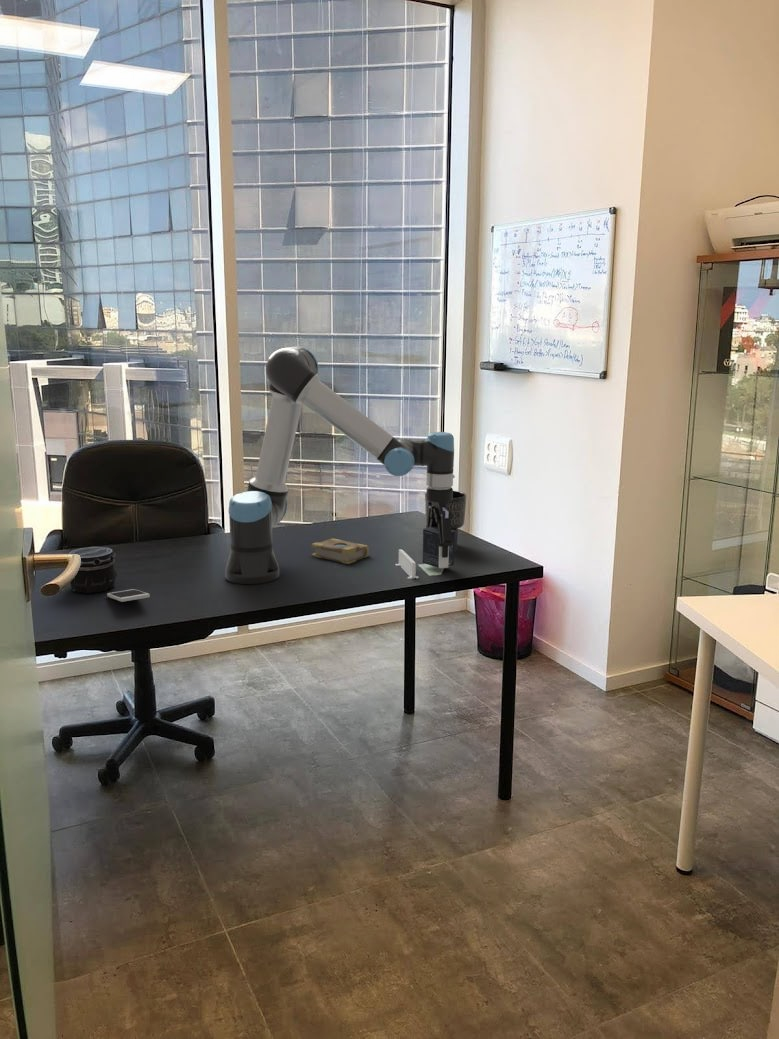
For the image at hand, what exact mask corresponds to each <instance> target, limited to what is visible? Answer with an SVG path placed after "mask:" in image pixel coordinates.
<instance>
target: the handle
mask: <svg viewBox="0 0 779 1039" xmlns="http://www.w3.org/2000/svg"><path fill="white" fill-rule="evenodd" d="M416 565H417V563H416V562H415V561H414V559H413V558H411V557H410V555H409V554H408V553H406V551H404V550H403V549H398V563H395V565H394V566H396V567H400V566H401V567H400V568H401V570H403V571H404V572H405V573H406V574H407V575H408V576H407V579H408V580H412V579H413V580H415V578H416V579H420V577H419V576H418V575H416V572H417V571H416V570H417V569H416V568H417V566H416Z"/></svg>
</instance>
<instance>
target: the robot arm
mask: <svg viewBox="0 0 779 1039" xmlns="http://www.w3.org/2000/svg"><path fill="white" fill-rule="evenodd" d="M265 370H266V371H265V372H266V373H265V374H266V378H267V379H268V381H269V387H268V391H269V393H270V394H271V396H272V399H271V403H270V408H269V413H268V417H267V421H266V422H267V423H266V427H265V431H264V436H263V441H262V445H261V450H260V455H259V459H258V462H257V469H256V473H255V475H254V476H253V477H252V478H250V479H249V480H248V485H247V488H246V491H243V492H241V493H236V494H235V495H233V496H232V497H231V498H230V500H229V505H228V515H229V516H228V519H229V538H230V540H229V541H230V543H229V544H230V551H229V552H230V553H229V556H228V559H227V563H226V566H225V568H224V569H225V570H224V572H225V575H224V576H225V580H227V581H228V582H230V583H234V584H238V585H240V584H241V585H257V584H265V583H269V582H272V581H276V580H278V578H279V577H280V566H279V563H278V561H277V559H276V556H275V552H274V550H273V549H274V548H273V528H274V527H275V526H276V525H278V524H279V523H281V521H283V519H284V517H285V516H286V513H287V510H288V500H287V498H288V497H287V496H288V493H289V487H288V485H287V483H286V478H287V474H288V469H289V464H290V460H291V454H292V452H293V447H294V443H295V439H296V438H295V437H296V434H297V429H298V425H299V421H300V415H301V412H302V407H303V405H304V406H306V407H307V408H309V410H311V411H312V412H314V413H315V414H316V415H318V416H319V417H320V418H322V420H324V421H326V422H327V423H328V424H330V426H332V427H333V428H335V429H336V430H338V431H339V432H340V433H341V434H343V435H344V436H346V437H347V438H348V439H349V440H350V441H352V443H355V444H356V445H357V446H358V447H360V449H363V450H364V451H365V452H366V453H367V454H369V455H371V456H372V457H373V458H374V459H376V460H377V461H378V462H379V463H380V464H382V465H383V466H384V467H385V470H386V471H387V472H388V474H390V475H392V476H394V477H403V476H405V475H407V474H409V472H411V471H412V470H413V469H414V466H415V467H426V481H425V482H426V486H427V487H426V493H427V494H426V493H425V494H426V499H427V500H428V516H427V524H425V528H428V527H436V526H438V530H439V537H440V544H439V545H438V547H439V568H444V569H449V567H448V562H449V546H451V545H452V534H451V511H448V508H447V503H448V502H450V501H452V500H453V491H454V489H453V486H454V479H455V477H456V476H455V474H454V467H455V466H454V463H455V462H454V461H455V438H454V436H453V434H452V433H450V432H446V431H437V432H436V431H433V432H429V433H427V437H426V438H425V439H412V438H411V439H410V438H408V439H407V438H399V437H398V438H395V437H394V436H393V435H392V434H390V433H389V432H388V431H387V430H385V429H384V428H383V427H381V426H379V424H377V423H375V422H374V421H373V420H371V418H369V417H368V416H366V415H365V414H364V413H363V412H362V411H360V410H359V409H357V408H356V407H355V406H353V405H352V404H351V403H350V402H348V401H347V399H346V400H345V399H344V398H343V397H342V396H341V395H339V394H338V393H336V392H335V391H334V390H332V389H331V388H330V387H329V386H327V385H326V384H325V383H324V382H323V381H320V378H319V374H318V373H319V363H318V360H317V358H316V356H315V354H314V353H313V352H312V351H310V350H309V349H307V348H306V347H303V346H299V345H291V346H286V347H283V348H279V349H278V350H275V351H274V352H273V353H272V354H271V355H270V356H269V357H268V360H267V362H266V365H265ZM446 541H447V542H446Z"/></svg>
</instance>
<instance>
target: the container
mask: <svg viewBox="0 0 779 1039" xmlns="http://www.w3.org/2000/svg"><path fill="white" fill-rule="evenodd" d="M68 554H78V555H80V556H81V566H80V568H79V571H78V573H77V575H76V576H75V578H74V579H73V580H72V581H71V583H69V584H70V587H71V590H72V589H73V590H75V591H78V592H77V593H79V592H83V593H82V594H90V593H99V592H104V591H108V590H110V589H112V588H114V587H115V585H116V584H115V583H116V578H117V576H118V574H117V571H116V568H115V562H116V561H115V558H116V553H115V552H114V551H113V549H112V548H110V547H104V546H89V547H88V546H87V547H82V548H81V547H80V548H77V549H73V550H71V551H69V553H68ZM73 590H72V591H73ZM75 591H74V592H75Z"/></svg>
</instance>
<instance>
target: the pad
mask: <svg viewBox="0 0 779 1039" xmlns="http://www.w3.org/2000/svg"><path fill="white" fill-rule="evenodd" d="M418 567H419V568H421V569H422V571H423V572H425V573H426V575H427V576H429V577H430V576H440V575H442V574H443V571H444V569H445V568H441V569H440V568H437V567H434V566H431V565H428V564H425V563H422V564H421V563H420V564H419V563H418Z"/></svg>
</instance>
